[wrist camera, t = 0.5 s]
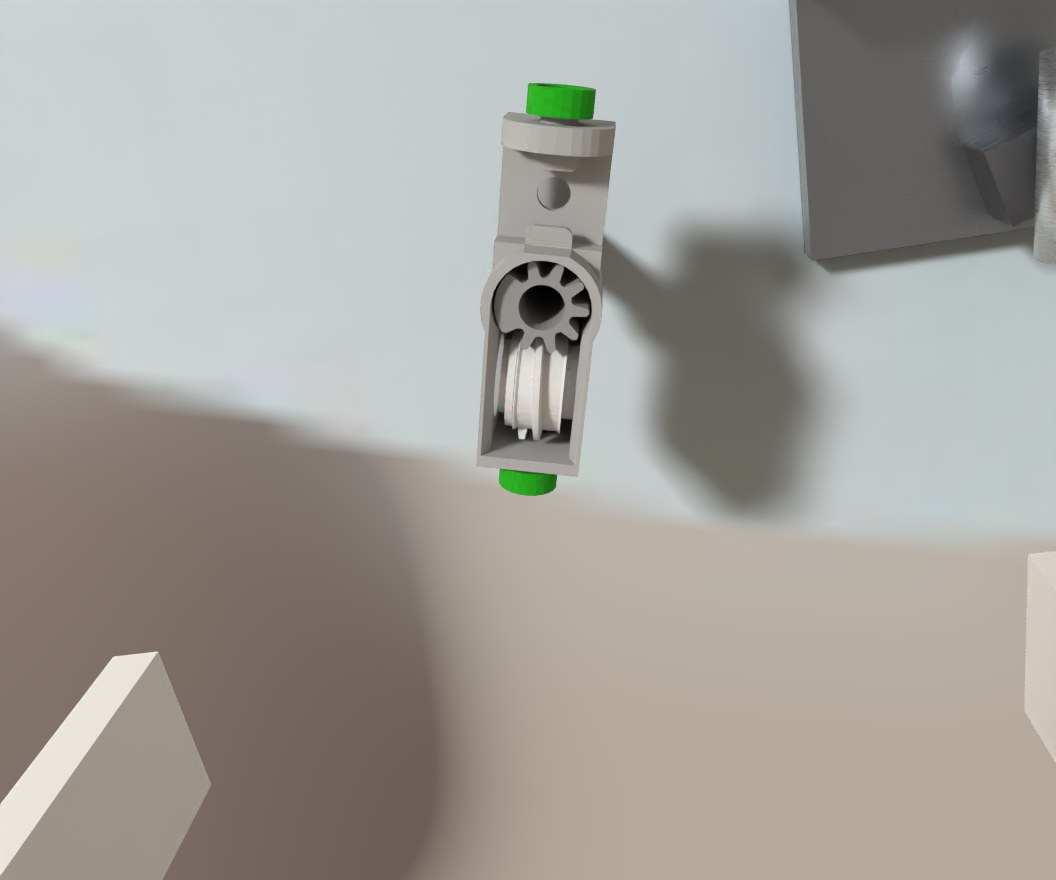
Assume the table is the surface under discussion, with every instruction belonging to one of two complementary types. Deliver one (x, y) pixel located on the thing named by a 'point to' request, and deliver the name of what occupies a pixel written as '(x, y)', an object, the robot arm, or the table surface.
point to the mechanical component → (544, 288)
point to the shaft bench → (924, 121)
